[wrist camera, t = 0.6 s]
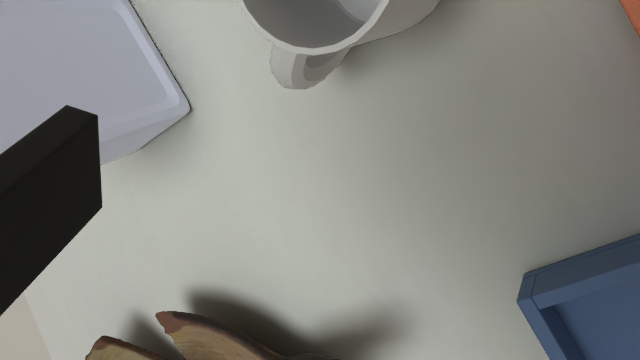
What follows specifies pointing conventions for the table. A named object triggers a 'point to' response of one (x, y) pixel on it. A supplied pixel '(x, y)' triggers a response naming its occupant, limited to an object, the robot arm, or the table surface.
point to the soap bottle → (84, 72)
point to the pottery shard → (195, 342)
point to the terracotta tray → (632, 12)
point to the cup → (325, 31)
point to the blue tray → (587, 304)
